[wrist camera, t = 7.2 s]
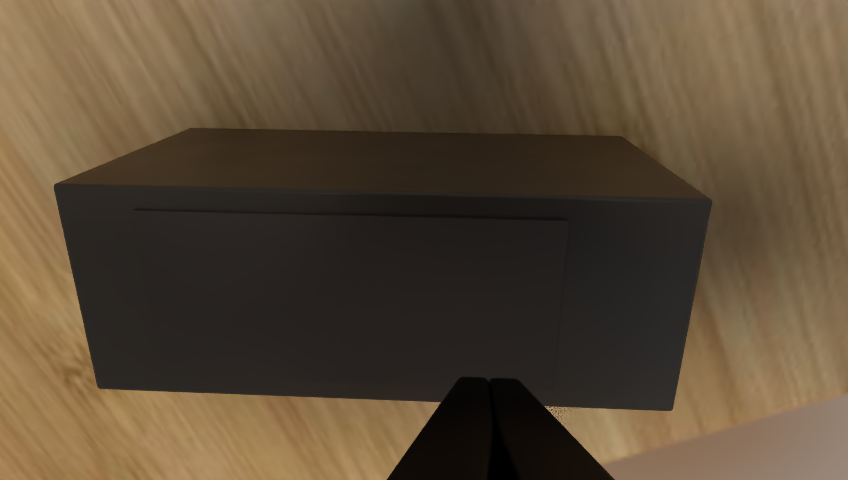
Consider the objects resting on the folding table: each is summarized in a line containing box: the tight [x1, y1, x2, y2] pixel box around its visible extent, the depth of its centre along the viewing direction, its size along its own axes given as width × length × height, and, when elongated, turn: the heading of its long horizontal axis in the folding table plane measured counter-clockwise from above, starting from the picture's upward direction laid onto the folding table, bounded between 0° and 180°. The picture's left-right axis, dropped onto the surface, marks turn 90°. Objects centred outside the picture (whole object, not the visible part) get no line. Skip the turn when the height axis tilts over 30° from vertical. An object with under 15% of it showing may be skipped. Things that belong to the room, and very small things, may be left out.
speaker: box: [54, 128, 712, 411], centre depth 14 cm, size 6×4×12 cm
